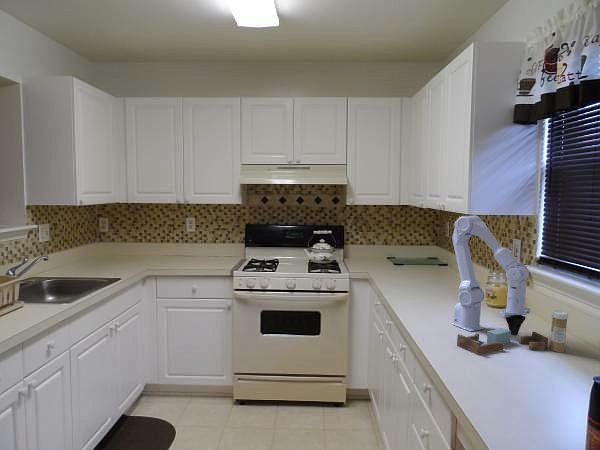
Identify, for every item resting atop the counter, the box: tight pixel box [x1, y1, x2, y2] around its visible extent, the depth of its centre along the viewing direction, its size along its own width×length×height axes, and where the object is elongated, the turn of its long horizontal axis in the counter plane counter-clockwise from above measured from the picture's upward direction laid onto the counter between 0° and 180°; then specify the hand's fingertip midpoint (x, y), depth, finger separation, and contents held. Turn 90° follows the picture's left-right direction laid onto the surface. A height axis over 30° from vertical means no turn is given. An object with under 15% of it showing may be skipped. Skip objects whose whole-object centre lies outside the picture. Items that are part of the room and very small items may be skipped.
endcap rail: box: [456, 332, 504, 356], centre depth 143 cm, size 11×11×4 cm
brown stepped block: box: [518, 331, 549, 351], centre depth 146 cm, size 6×6×4 cm
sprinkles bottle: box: [549, 310, 569, 353], centre depth 142 cm, size 5×5×14 cm
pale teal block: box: [486, 327, 512, 345], centre depth 148 cm, size 4×8×4 cm, turn 119°
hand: (513, 334), depth 152 cm, fingers closed
